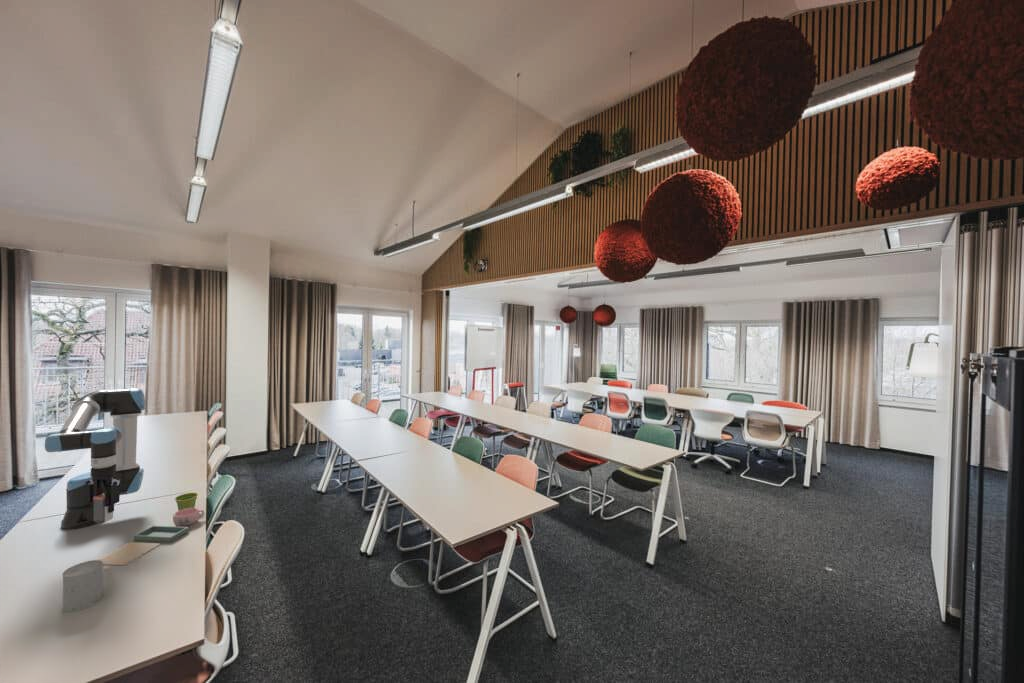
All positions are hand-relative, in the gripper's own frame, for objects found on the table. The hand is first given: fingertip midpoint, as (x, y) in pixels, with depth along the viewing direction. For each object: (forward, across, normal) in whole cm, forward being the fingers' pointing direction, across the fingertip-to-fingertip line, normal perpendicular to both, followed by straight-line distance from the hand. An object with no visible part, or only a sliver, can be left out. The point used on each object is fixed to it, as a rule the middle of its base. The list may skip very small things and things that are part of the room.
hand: (103, 519), depth 165 cm
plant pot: (+15, +4, +37) cm, 40 cm away
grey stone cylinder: (+15, +25, -29) cm, 41 cm away
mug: (+15, +14, +27) cm, 34 cm away
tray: (+15, +12, +14) cm, 24 cm away
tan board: (+15, +11, 0) cm, 18 cm away
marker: (+1, 0, 0) cm, 1 cm away
